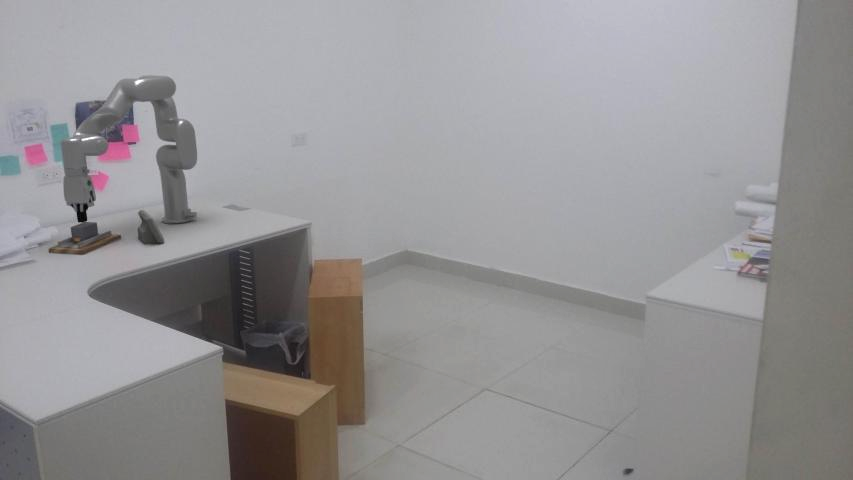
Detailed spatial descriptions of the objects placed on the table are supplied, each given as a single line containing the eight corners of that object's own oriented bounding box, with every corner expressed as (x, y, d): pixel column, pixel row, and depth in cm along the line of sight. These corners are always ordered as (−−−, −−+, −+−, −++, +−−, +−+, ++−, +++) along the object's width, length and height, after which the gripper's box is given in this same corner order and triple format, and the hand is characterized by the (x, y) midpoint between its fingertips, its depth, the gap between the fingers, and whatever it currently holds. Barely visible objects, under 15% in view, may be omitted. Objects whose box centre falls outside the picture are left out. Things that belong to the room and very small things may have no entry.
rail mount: (121, 238, 280) (120, 229, 279) (83, 254, 259) (82, 245, 258) (88, 236, 283) (87, 228, 282) (49, 252, 262) (47, 243, 261)
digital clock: (165, 244, 271) (161, 216, 269) (138, 247, 268) (135, 218, 265) (163, 233, 286) (160, 207, 283) (138, 236, 283) (135, 209, 280)
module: (98, 238, 274) (96, 222, 272) (83, 244, 265) (81, 228, 264) (87, 237, 275) (84, 221, 273) (71, 243, 266) (69, 227, 265)
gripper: (101, 171, 265) (107, 220, 270) (65, 169, 269) (71, 218, 273) (87, 174, 258) (94, 225, 263) (50, 173, 261) (57, 223, 266)
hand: (82, 221), depth 268 cm, fingers closed
